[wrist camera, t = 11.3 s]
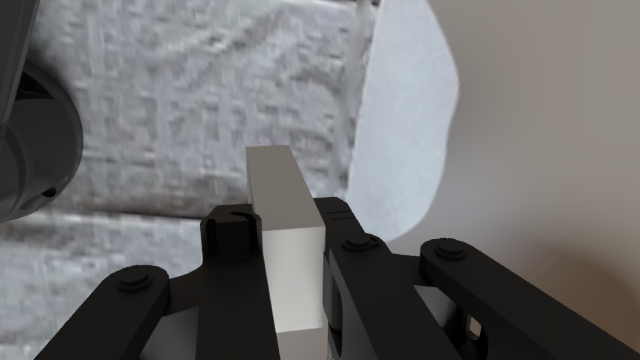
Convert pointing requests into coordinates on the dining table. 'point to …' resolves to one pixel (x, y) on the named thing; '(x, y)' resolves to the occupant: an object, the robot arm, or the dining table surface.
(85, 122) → the dining table surface
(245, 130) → the dining table surface
